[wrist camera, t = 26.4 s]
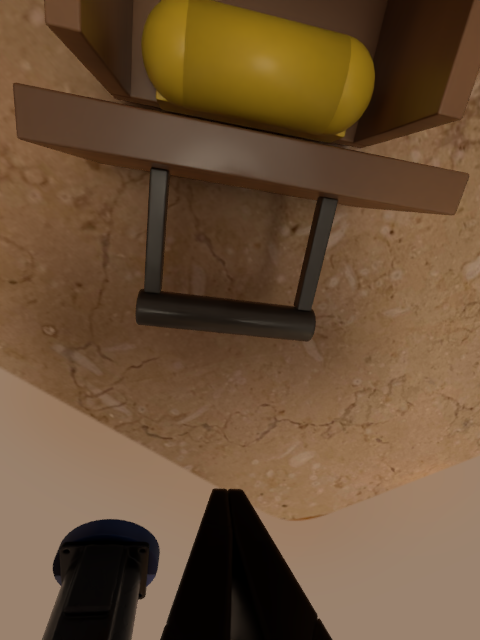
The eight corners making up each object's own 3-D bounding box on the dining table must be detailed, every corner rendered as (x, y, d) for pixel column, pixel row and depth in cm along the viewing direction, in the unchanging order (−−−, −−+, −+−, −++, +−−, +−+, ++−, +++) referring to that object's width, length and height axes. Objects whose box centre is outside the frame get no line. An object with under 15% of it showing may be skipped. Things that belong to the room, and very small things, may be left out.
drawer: (329, 312, 18) (395, 376, 12) (98, 286, 16) (32, 345, 10) (463, -188, 11) (780, -657, 5) (98, -333, 10) (-105, -1357, 3)
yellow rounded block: (147, 110, 13) (131, 84, 10) (151, 16, 12) (135, -44, 9) (340, 148, 14) (376, 135, 11) (359, 65, 13) (404, 27, 10)
